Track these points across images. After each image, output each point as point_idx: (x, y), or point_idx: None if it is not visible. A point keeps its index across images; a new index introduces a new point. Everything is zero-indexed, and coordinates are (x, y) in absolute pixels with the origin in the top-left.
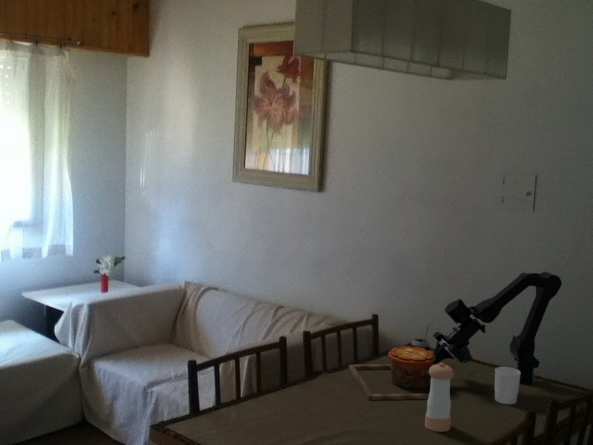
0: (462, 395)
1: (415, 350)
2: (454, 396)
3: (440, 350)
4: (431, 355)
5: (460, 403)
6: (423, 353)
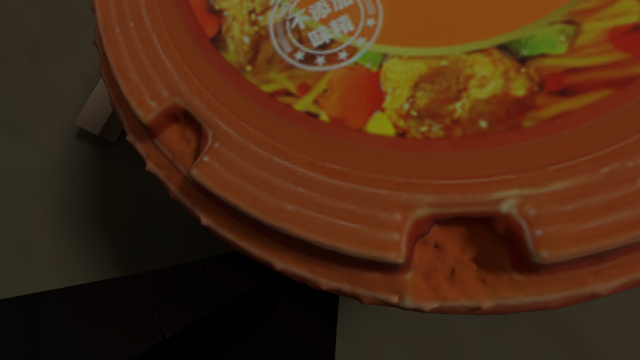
0: (62, 271)
1: (548, 11)
2: (82, 209)
3: (47, 297)
4: (159, 88)
5: (5, 161)
6: (324, 43)
